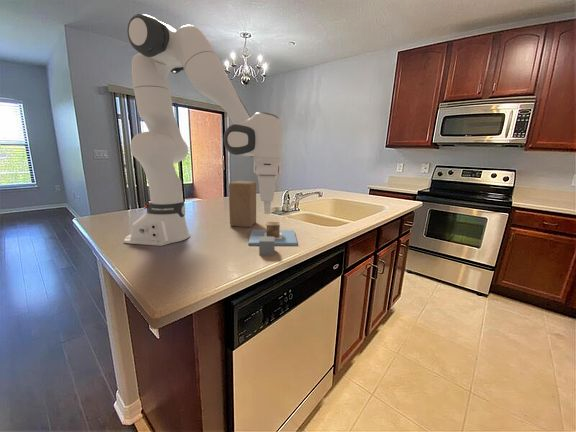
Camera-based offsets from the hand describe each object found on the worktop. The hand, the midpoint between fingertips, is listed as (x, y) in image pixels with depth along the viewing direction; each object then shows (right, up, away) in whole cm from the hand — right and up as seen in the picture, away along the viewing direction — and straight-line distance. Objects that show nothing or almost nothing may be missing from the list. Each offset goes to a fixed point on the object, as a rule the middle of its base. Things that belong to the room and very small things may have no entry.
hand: (267, 210), depth 83 cm
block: (-14, -6, +37) cm, 40 cm away
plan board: (+1, -11, +18) cm, 21 cm away
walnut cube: (+1, -10, +18) cm, 20 cm away
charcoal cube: (0, -15, +3) cm, 15 cm away
